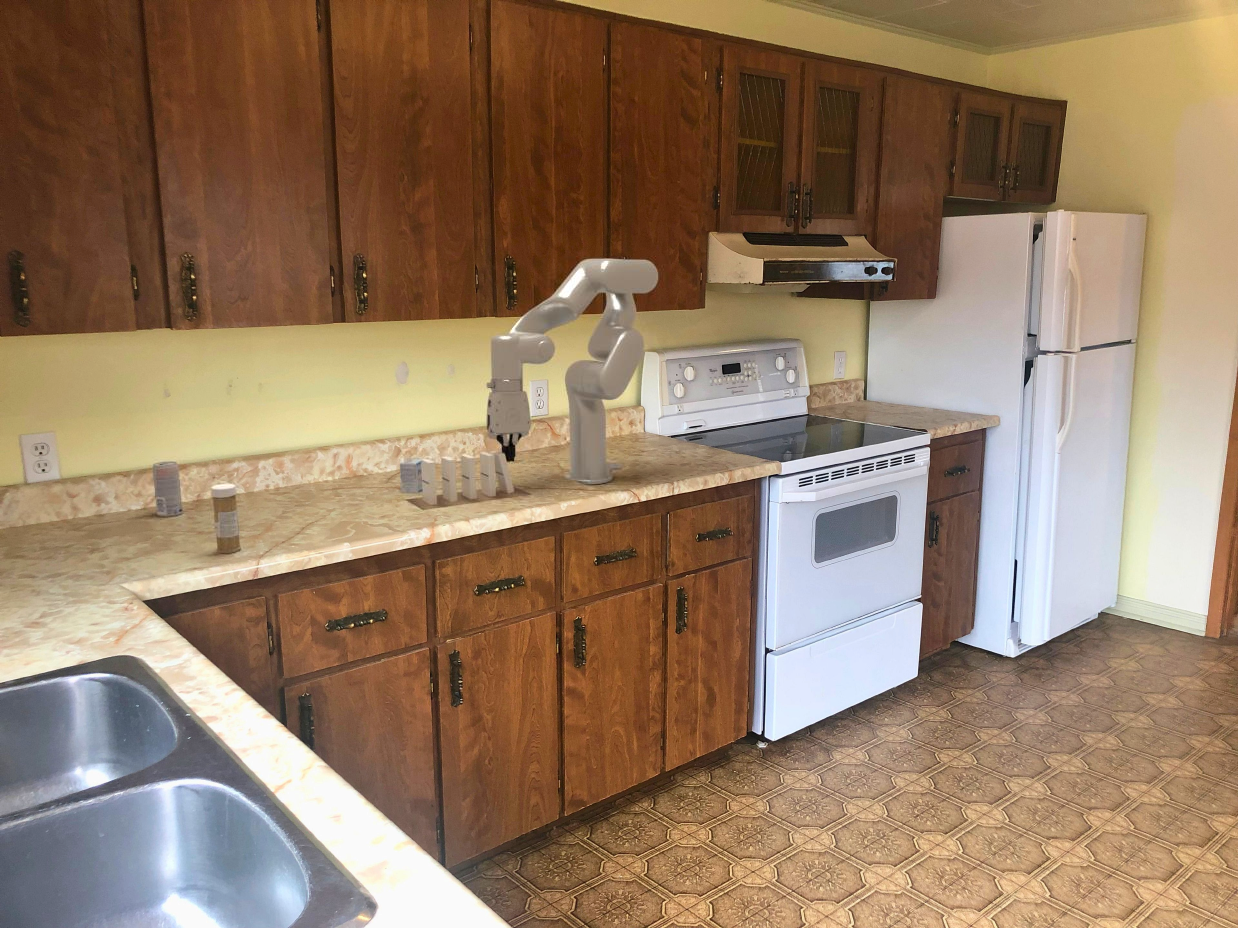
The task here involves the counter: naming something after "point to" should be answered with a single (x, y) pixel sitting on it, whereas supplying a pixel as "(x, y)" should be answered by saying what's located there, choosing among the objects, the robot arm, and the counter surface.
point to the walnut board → (464, 500)
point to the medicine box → (411, 476)
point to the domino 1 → (429, 481)
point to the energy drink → (167, 489)
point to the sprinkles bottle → (226, 518)
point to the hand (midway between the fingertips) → (508, 460)
